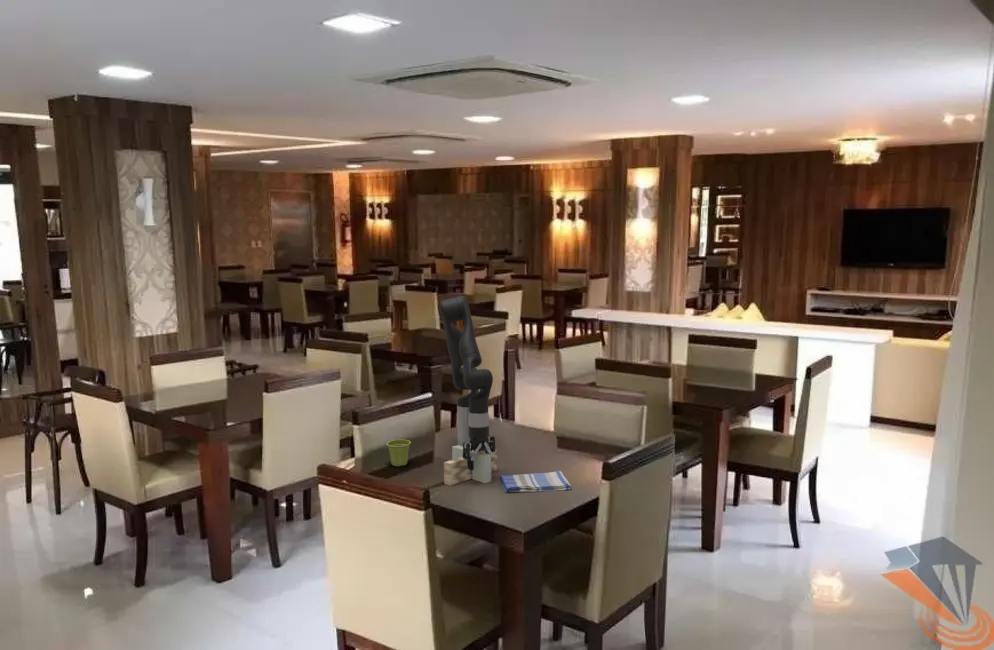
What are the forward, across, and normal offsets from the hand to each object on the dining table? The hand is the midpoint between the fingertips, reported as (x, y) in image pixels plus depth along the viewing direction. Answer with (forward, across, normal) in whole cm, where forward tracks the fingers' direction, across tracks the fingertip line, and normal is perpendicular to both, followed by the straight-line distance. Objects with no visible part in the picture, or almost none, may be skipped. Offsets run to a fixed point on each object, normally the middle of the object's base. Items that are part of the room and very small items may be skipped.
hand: (479, 467), depth 267 cm
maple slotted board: (+5, 0, -4) cm, 7 cm away
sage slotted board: (+5, 0, -4) cm, 7 cm away
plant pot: (+5, +9, -36) cm, 38 cm away
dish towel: (+6, -10, +18) cm, 21 cm away
